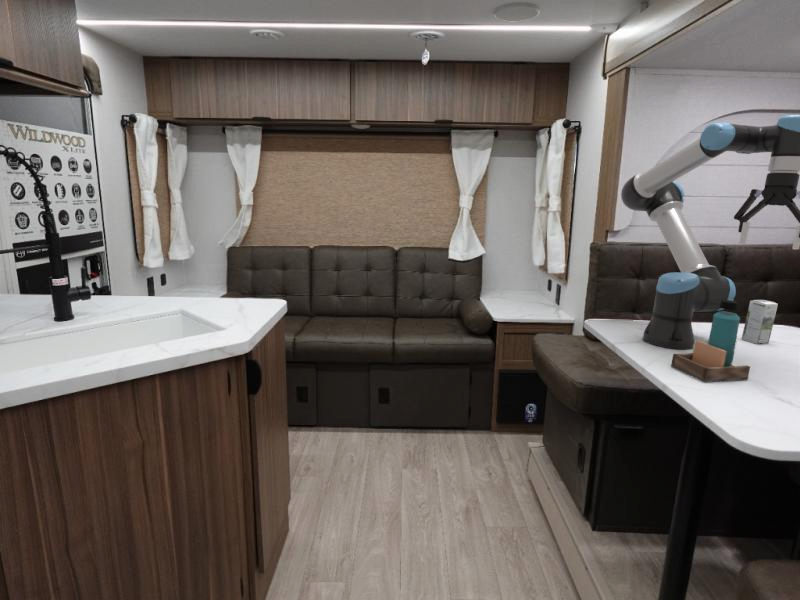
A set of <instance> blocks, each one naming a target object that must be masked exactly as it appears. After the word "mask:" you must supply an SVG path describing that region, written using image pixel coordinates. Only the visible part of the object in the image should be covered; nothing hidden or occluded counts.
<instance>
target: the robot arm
mask: <svg viewBox="0 0 800 600" xmlns="http://www.w3.org/2000/svg"><path fill="white" fill-rule="evenodd" d="M726 152H735V153H736V154H739V155H740V154H741V155H742V154H744V155H745V154H746V155H751V154H758V153H770V160H769V164H768V168H767V171H768V173H767V174H766V178H765V183H764V188H763V189H762V190H760V189H757V188H752V189H751V190H750V193H749V196H748V197H747V199H746V200H745V202H744V203H742V205H741V207H740V208H739V209H738V210H737V212H736V213H735V214H734V216H733V219H734V220H737V221H739V225H738V230H737V231H738V233H740V236H739V237H740V238H739V241H738V244H739V245H745V244H747V239H748V234H749V229H750V224H751V223H750V222H748V221H749V220H751V219H752V218H753V217H754V216H755V215H756V214H758V213H759V212H760V211H761V210H762V209H763V208H765V207H767V206H779V207H781V206H782V207H784V206H785V207H787V208H788V210H789V211H790V212H791V214H792V215H793V217H794V218H795V219H796V221H797V222H798V223H799V224H800V209H799V207H798V206H797V204H796V202H795V201H794V199H795V198H796V197H798V198H799V199H800V191H799V190H797V188H798V184H799V180H800V174H799V172H800V114H791V115H790V114H789V115H783V116H780V117H779V118H778V121H777V122H776V124H774V125H764V126H757V125H755V126H754V125H744V124H743V125H742V124H735V123H728V122H713V123H711V124H709V125H707V126H706V127H705V128H704V130H703V131H702V132H701V134H700V137H699V138H698V139H696V140H694V141H692V142H691V143H690V144H687V146H684V147H683V148H682V149H680V150H678V151H677V152H675V153H674V154H672V155H671V156H669V157H667V158H666V159H664V160H662V161H661V162H660V163H658V164H656V165H655V166H653V167H652V168H650V169H649V170H647V171H645V172H643V171H642V172H638V173H637V174H635V175H633V176H632V177H631V178H629V179H628V180H627V181H626V182H625V183H624V185H623V186H622V189H621V194H620V195H621V200H622V203H623V204H624V206H625V207H627V209H629V210H632V211H637V212H646V214H647V216H648V218H649V219H650V221H652V222H655V223H656V224H657V226H658V228H659V230H660V232H661V234H662V236H663V238H664V239H665V242H666V244H667V246H668V248H669V250H670V252H671V254H672V256H673V258H674V261H675V262H676V264H677V266H678V269H679V271H680V272H676V271H675V272H666V273H663V274H661V275H660V276H658V280H657V284H656V287H655V297H654V303H653V308H652V316H651V318H650V320H649V322H648V324H647V326H646V328H645V329H644V331H643V335H642V340H643V341H644V342H646V343H649V344H651V345H654V346H658V347H661V348H667V349H675V350H689V349H692V348H693V349H694V346H695V335H694V332H693V330H694V329H693V325H692V321H693V315H694V313H699V312H700V313H701V312H705V313H706V312H712V313H713V312H719V311H723V310H724V309H723V308H720V307H719V306H720V303H721V301H722V300H730V301H735V300H734V299H735V297H736V293H737V292H736V291H737V289H736V286H735V283H734V282H733V280H732V279H730V278H729V277H726V276H724V275H721V273H720V272H719V270H718V267H716V266H715V265H711V264H709V262H708V260H707V258H706V256H705V253H703V250H702V249H701V247H700V245H699V243H698V241H697V238H696V237H695V235H694V234H693V232H692V229H691V227H690V225H689V224H688V222H687V220H686V218H685V217H684V214H683V212H682V209H683V207H684V204H683V203H684V201H685V198H684V197H685V192H684V189H683V187H682V185H680V184H679V183H678V182H675V181H676V180H678V179H679V178H681V177H683V176H685V175H686V174H688V173H690V172H691V171H693V170H695V169H697V168H698V167H700V166H702V165H704V164H706V163H707V162H709V161H711V160H713V159H714V158H717V157H718V156H720V155H721V154H723V153H726ZM760 196H762V197H763V199H762V200H760V201H759V202H758V203H757V204H756V205H755V206H754V207H752V206H753V203H755V201H756V200H757V199H758V198H759V197H760ZM751 207H752V208H751ZM750 208H751V209H750ZM749 209H750V210H749ZM748 210H749V211H748ZM747 211H748V212H747ZM791 250H800V225H798V226H796V231H795V235H794V239H793V243H792V248H791Z"/></svg>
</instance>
